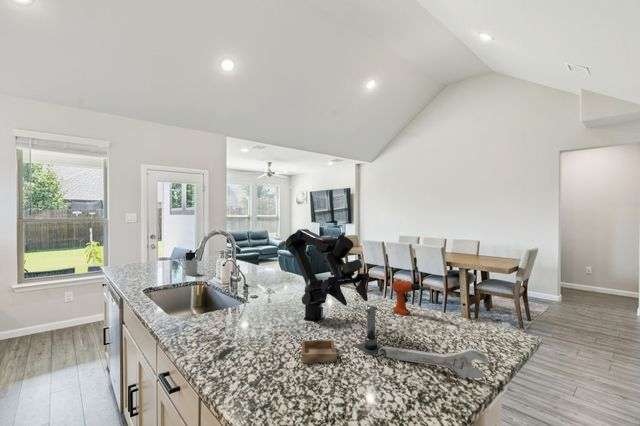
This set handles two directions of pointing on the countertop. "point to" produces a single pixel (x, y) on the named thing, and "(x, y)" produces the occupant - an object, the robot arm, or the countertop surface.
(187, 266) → the grey container
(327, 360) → the tray
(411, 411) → the countertop surface
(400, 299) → the toy drill
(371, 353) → the mat
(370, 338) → the chuck key
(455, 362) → the wrench
